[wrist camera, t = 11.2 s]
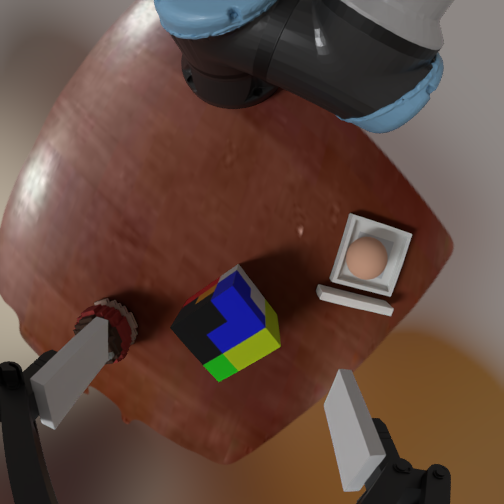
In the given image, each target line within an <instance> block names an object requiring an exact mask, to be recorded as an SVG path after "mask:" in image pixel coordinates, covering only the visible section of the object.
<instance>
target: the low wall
mask: <svg viewBox="0 0 504 504" xmlns="http://www.w3.org/2000/svg"><path fill="white" fill-rule="evenodd" d="M316 293H317V295H318V297H319V299H320V300H324V301H328V302H332V303H336V304H341V305H345V306H349V307H353V308H358V309H362V310H366V311H371V312H375V313H379V314H384V315H388V316H391V315H392V312H393V310H394V309H393V308H392V307H391V306H390V305H389V304H388V303H387V302H386V301H384V300H380V299H376V298H372V297H368V296H364V295H360V294H356V293H352V292H348V291H344V290H340V289H336V288H332V287H328V286H324V285H320V284H318V286H317V289H316Z"/></svg>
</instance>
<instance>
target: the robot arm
mask: <svg viewBox="0 0 504 504" xmlns="http://www.w3.org/2000/svg"><path fill="white" fill-rule="evenodd" d="M453 1H454V0H154V4H155V8H156V11H157V13H158V15H159V17H160V22H161V25H162V26H163V28H164V29H166V31H167V32H169V34H170V35H171V37H172V38H173V40H174V41H175V43H176V44H177V46H178V47H179V49H180V50H181V52H182V60H181V66H182V72H183V76H184V78H185V81H186V83H187V84H188V86H189V87H190V88H191V90H192V91H193V92H194V93H195V94H196V95H197V96H198V97H199V98H200V99H202V100H203V101H205V102H206V103H208V104H211V105H213V106H216V107H220V108H226V109H240V108H246V107H250V106H253V105H256V104H258V103H260V102H262V101H264V100H265V99H267V98H268V97H270V96H271V95H272V94H273V93H274V92H275V91H276V90H277V89H278V87H280V88H282V89H285V90H287V91H289V92H291V93H293V94H295V95H298V96H300V97H302V98H304V99H306V100H308V101H310V102H312V103H314V104H316V105H318V106H320V107H322V108H324V109H326V110H328V111H329V112H331V113H333V114H335V115H336V116H337V117H338V118H339V119H341V120H344V121H346V122H351V123H353V124H355V125H357V126H359V127H361V128H363V129H365V130H367V131H369V132H373V133H387V132H390V131H393V130H395V129H397V128H399V127H401V126H402V125H404V124H405V123H407V122H408V121H409V120H410V119H412V118H413V117H414V116H415V115H416V114H417V113H418V112H419V111H420V110H421V109H422V108H423V107H424V106H425V105H426V104H427V102H428V101H429V99H430V93H432V92H433V91H434V90H436V89H437V87H438V85H439V83H440V81H441V78H442V74H443V69H444V67H443V60H442V58H441V56H440V55H439V53H438V51H439V50H440V49H441V48H442V46H443V44H444V40H443V36H442V31H441V28H440V24H439V22H440V19H441V17H442V16H443V15H444V13H445V12H446V10H447V9H448V8H449V7H450V5H451V4H452V3H453ZM107 361H108V320H106V319H103V318H99V317H95V318H94V319H93V320H92V321H91V322H90V323H89V324H88V325H87V326H86V327H84V328H83V329H82V330H81V331H80V332H79V333H78V334H77V335H76V336H75V337H74V338H72V339H71V340H70V341H69V342H68V343H67V344H66V345H65V346H64V347H63V348H62V349H61V350H60V351H59V352H56V351H54V350H50V351H47V352H45V353H43V354H42V355H41V356H40V357H39V358H38V359H36V361H34V363H32V364H31V365H30V366H29V367H28V368H27V369H26V370H24V371H23V372H22V369H21V367H20V365H19V364H17V363H15V362H10V361H8V362H3V363H1V364H0V422H2V432H3V442H4V450H5V457H6V463H7V469H8V474H9V480H10V484H11V489H12V494H13V498H14V502H15V504H58V501H57V498H56V496H55V492H54V489H53V487H52V483H51V480H50V477H49V473H48V470H47V466H46V463H45V459H44V455H43V452H42V447H41V443H40V438H39V434H38V429H37V424H36V421H35V419H36V418H37V417H38V416H39V415H40V419H41V422H42V423H43V424H45V425H47V426H49V427H50V428H52V429H56V427H57V426H58V425H59V423H60V422H61V421H62V419H63V418H64V417H65V415H66V414H67V412H68V411H69V410H70V409H71V407H72V406H73V405H74V403H75V402H76V401H77V399H78V398H79V397H80V395H81V394H82V393H83V391H84V390H85V389H86V388H87V386H88V385H89V384H90V382H91V381H92V380H93V378H94V377H95V376H96V375H97V373H98V372H99V371H100V370H101V368H102V367H103V366H104V364H105V363H106V362H107ZM324 408H325V412H326V417H327V421H328V425H329V429H330V433H331V437H332V441H333V446H334V450H335V454H336V459H337V463H338V468H339V472H340V476H341V481H342V485H343V490H344V492H346V491H359V490H360V489H361V488H362V486H363V485H364V484H365V487H366V491H365V493H364V494H363V495H362V496H361V497H360V498H359V499H358V501H357V503H356V504H450V490H451V487H450V486H451V475H450V472H449V470H448V469H447V468H446V467H444V466H442V465H440V464H434V465H431V466H430V467H429V468H428V470H419V469H414V468H413V467H412V465H411V464H410V463H409V462H408V461H406V460H405V459H402V458H400V457H399V455H398V452H397V450H396V448H395V445H394V443H393V440H392V439H391V436H390V434H389V431H388V429H387V427H386V425H385V424H384V423H383V422H382V421H381V420H380V419H379V418H371V416H370V413H369V411H368V409H367V406H366V404H365V401H364V399H363V397H362V395H361V392H360V390H359V387H358V385H357V383H356V380H355V378H354V375H353V373H352V371H351V370H345V369H339V370H338V373H337V375H336V377H335V380H334V382H333V385H332V387H331V389H330V392H329V394H328V396H327V399H326V401H325V403H324Z"/></svg>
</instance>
